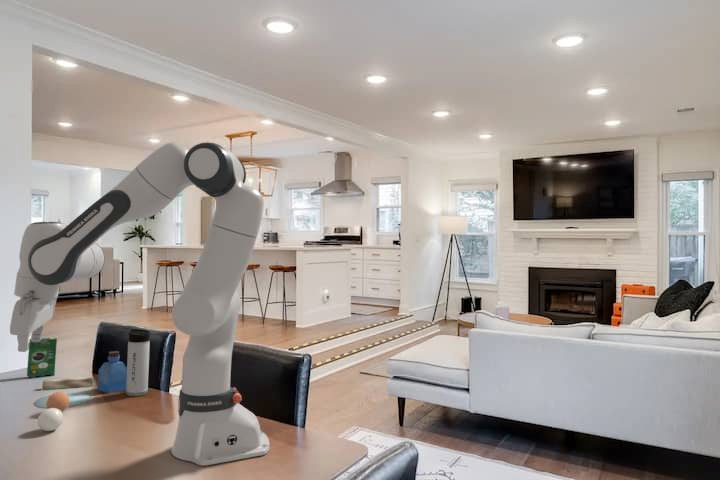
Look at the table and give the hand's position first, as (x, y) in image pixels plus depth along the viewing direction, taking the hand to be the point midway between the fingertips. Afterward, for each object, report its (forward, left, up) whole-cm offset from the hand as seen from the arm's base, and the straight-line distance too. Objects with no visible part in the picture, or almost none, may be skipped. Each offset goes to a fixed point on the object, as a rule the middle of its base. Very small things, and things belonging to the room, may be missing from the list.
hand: (29, 346), depth 118 cm
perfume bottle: (-13, -40, -23) cm, 48 cm away
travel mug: (-21, -34, -23) cm, 46 cm away
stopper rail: (0, -45, -23) cm, 50 cm away
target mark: (-1, -31, -23) cm, 38 cm away
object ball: (-2, -20, -20) cm, 28 cm away
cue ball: (-4, -6, -20) cm, 21 cm away
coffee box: (+12, -60, -23) cm, 65 cm away
